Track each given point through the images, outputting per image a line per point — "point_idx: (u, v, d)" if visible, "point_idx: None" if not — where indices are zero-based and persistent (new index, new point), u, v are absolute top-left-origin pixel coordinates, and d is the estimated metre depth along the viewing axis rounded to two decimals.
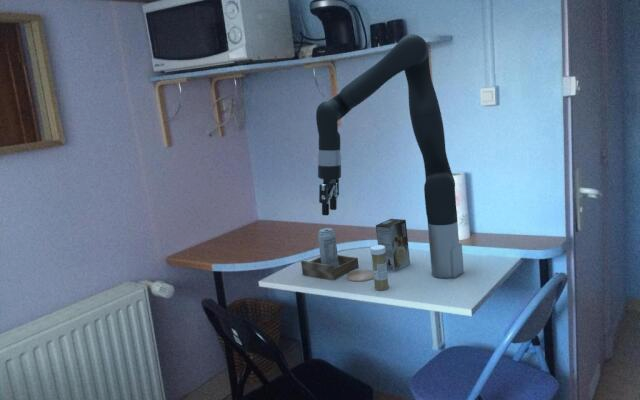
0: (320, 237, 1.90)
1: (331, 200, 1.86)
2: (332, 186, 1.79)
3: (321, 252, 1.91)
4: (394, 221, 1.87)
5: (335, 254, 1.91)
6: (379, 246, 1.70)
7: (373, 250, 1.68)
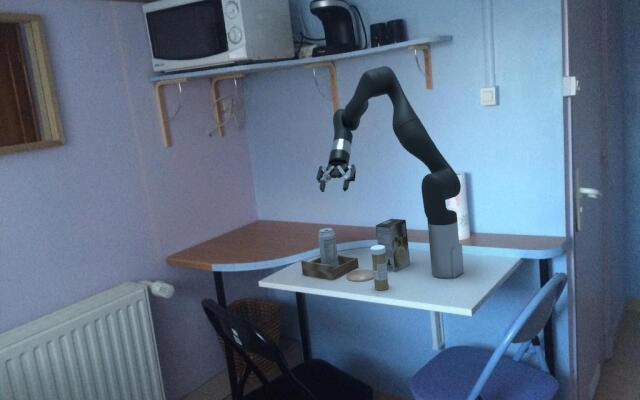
0: (320, 237, 1.90)
1: None
2: None
3: (321, 252, 1.91)
4: (394, 221, 1.87)
5: (335, 254, 1.91)
6: (379, 246, 1.70)
7: (373, 250, 1.68)
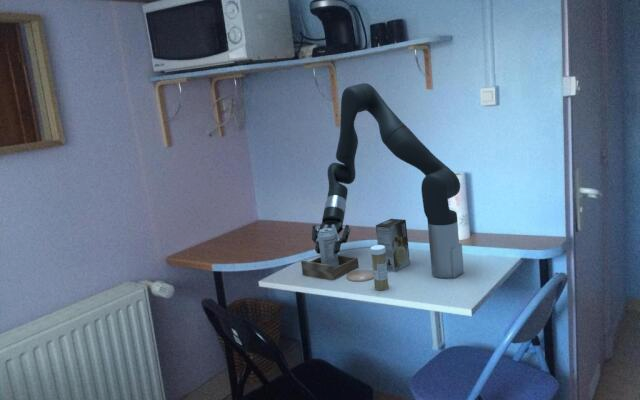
0: (320, 237, 1.90)
1: None
2: None
3: (321, 252, 1.91)
4: (394, 221, 1.87)
5: (335, 254, 1.91)
6: (379, 246, 1.70)
7: (373, 250, 1.68)
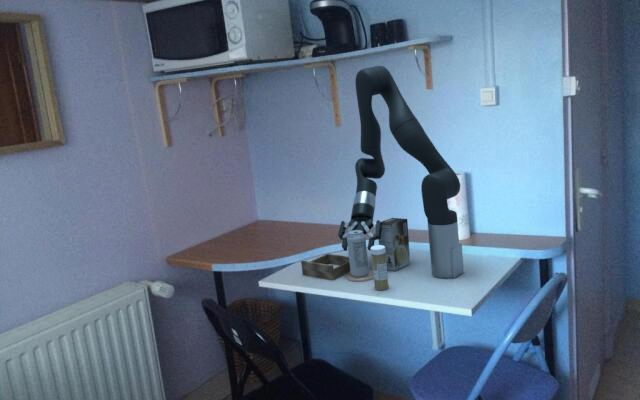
0: (349, 240, 1.80)
1: None
2: None
3: (350, 255, 1.81)
4: (396, 220, 1.88)
5: (365, 257, 1.81)
6: (379, 246, 1.70)
7: (373, 250, 1.68)
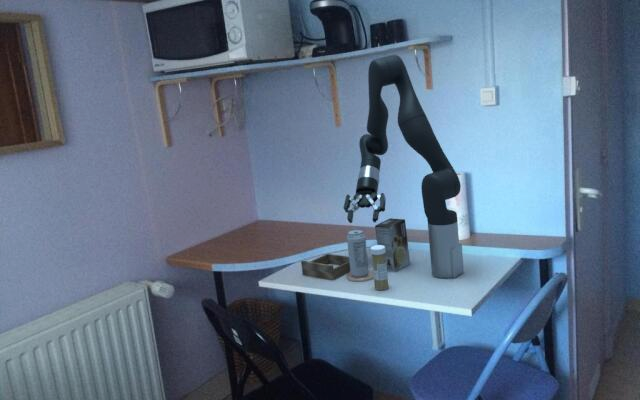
0: (349, 240, 1.80)
1: None
2: None
3: (350, 255, 1.81)
4: (393, 221, 1.87)
5: (365, 257, 1.81)
6: (379, 246, 1.70)
7: (373, 250, 1.68)
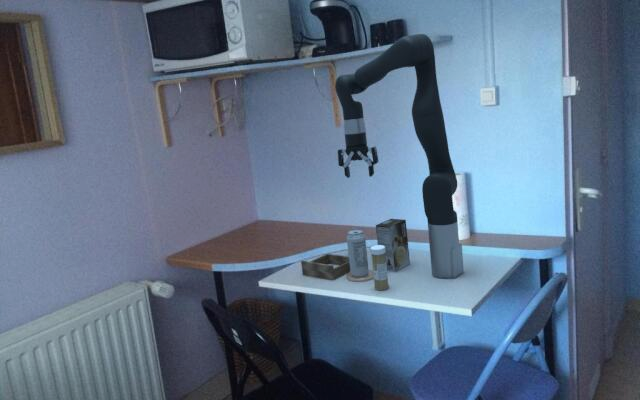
0: (349, 240, 1.80)
1: None
2: (350, 152, 1.97)
3: (350, 255, 1.81)
4: (394, 221, 1.87)
5: (365, 257, 1.81)
6: (379, 246, 1.70)
7: (373, 250, 1.68)
